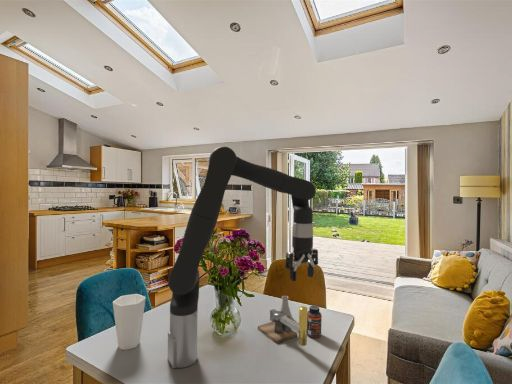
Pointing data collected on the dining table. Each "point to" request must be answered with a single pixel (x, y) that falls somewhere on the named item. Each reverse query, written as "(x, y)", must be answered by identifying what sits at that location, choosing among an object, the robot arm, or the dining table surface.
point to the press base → (274, 335)
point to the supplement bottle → (314, 322)
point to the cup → (128, 320)
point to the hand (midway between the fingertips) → (302, 278)
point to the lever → (293, 323)
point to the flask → (285, 306)
